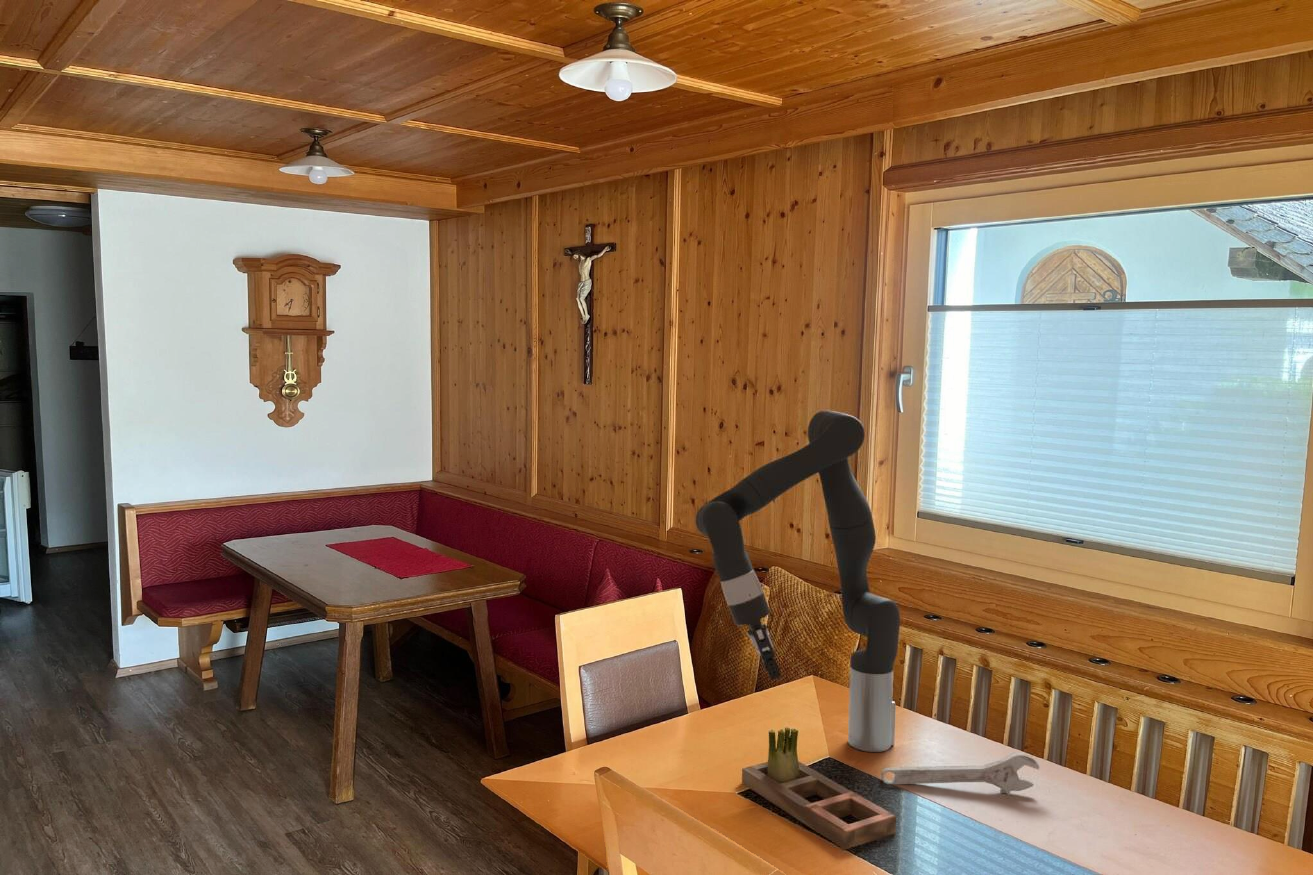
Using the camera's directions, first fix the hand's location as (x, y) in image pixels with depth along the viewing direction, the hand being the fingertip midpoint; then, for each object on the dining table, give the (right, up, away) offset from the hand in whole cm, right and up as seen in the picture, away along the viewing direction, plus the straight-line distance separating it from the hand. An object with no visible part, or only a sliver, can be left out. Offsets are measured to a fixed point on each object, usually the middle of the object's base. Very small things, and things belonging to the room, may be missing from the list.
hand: (773, 673), depth 188 cm
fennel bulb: (+2, -22, -1) cm, 22 cm away
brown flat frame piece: (+7, -23, -10) cm, 26 cm away
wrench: (+36, -23, -1) cm, 43 cm away
